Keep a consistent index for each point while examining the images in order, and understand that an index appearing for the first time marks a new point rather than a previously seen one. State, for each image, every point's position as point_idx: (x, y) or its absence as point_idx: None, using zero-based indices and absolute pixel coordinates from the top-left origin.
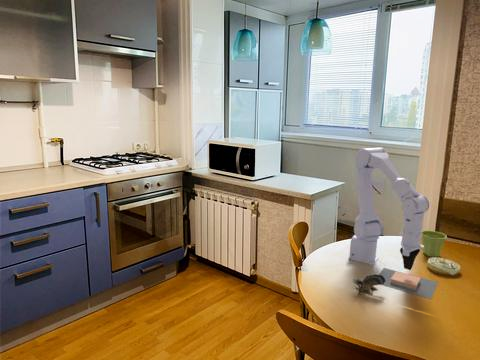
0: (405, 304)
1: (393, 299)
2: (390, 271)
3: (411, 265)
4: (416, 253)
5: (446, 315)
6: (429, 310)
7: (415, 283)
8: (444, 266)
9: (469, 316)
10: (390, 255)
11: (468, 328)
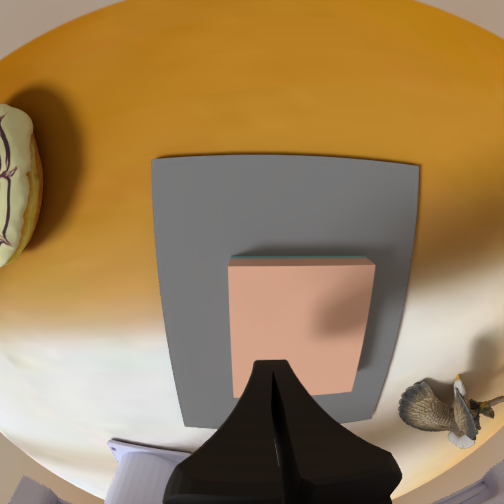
0: (485, 265)
1: (467, 314)
2: (203, 403)
3: (301, 385)
4: (380, 481)
5: (484, 106)
6: (488, 170)
7: (345, 277)
8: (2, 168)
9: (434, 21)
10: (43, 400)
11: (500, 51)
